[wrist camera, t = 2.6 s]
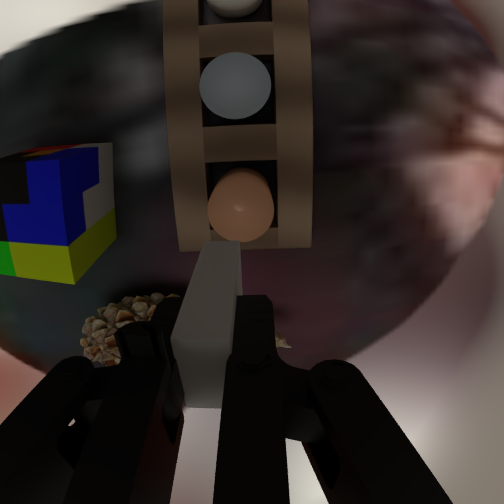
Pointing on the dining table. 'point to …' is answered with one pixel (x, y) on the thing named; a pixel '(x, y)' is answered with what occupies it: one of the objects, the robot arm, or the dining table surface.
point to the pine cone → (117, 315)
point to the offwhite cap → (234, 7)
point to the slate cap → (235, 85)
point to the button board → (240, 135)
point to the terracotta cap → (241, 205)
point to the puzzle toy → (56, 211)
